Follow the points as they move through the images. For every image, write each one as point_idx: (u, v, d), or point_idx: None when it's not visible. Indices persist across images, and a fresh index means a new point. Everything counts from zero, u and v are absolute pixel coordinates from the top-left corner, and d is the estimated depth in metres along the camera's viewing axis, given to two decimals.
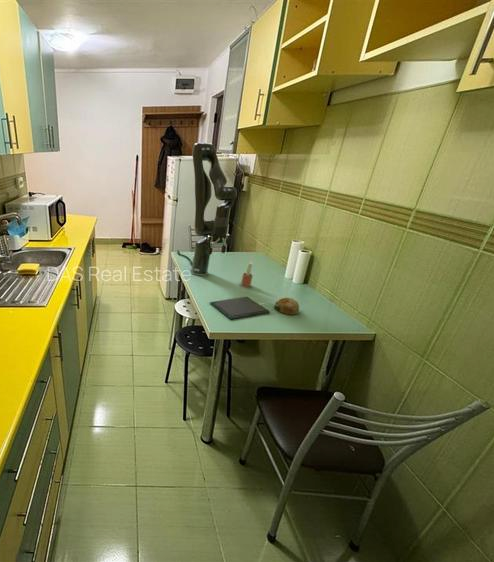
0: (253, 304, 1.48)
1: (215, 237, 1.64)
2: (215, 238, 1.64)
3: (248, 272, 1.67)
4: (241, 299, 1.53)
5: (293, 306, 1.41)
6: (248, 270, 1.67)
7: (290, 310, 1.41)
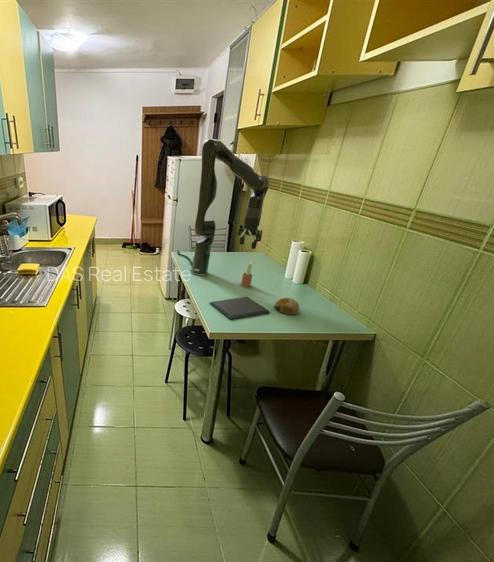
0: (253, 304, 1.48)
1: (244, 227, 1.61)
2: (244, 228, 1.61)
3: (248, 272, 1.67)
4: (241, 299, 1.53)
5: (293, 306, 1.41)
6: (248, 270, 1.67)
7: (290, 310, 1.41)
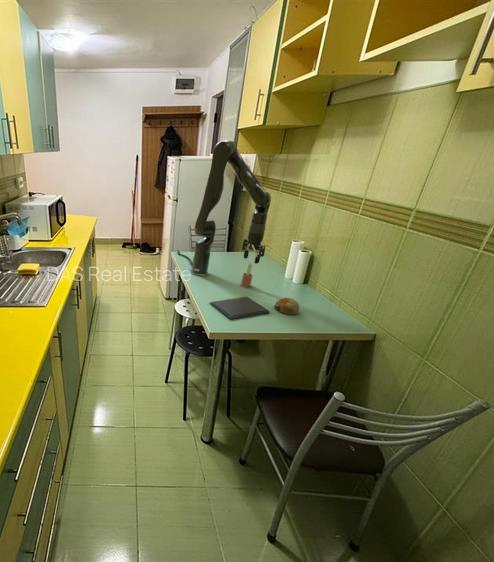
0: (253, 304, 1.48)
1: (248, 242, 1.64)
2: (248, 243, 1.64)
3: (248, 272, 1.67)
4: (241, 299, 1.53)
5: (293, 306, 1.41)
6: (248, 270, 1.67)
7: (290, 310, 1.41)
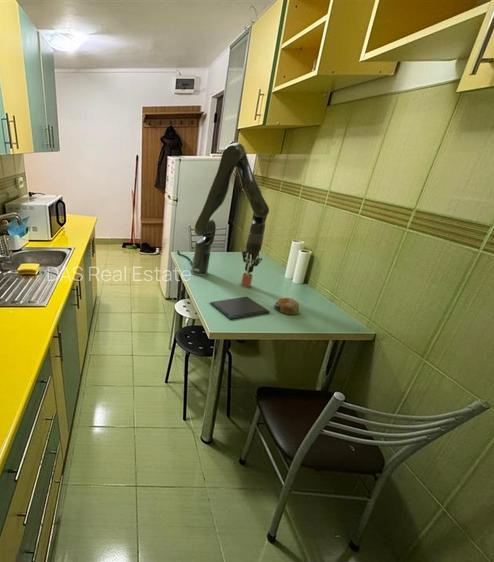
0: (253, 304, 1.48)
1: (246, 251, 1.66)
2: (246, 252, 1.66)
3: (248, 272, 1.67)
4: (241, 299, 1.53)
5: (293, 306, 1.41)
6: None
7: (290, 310, 1.41)
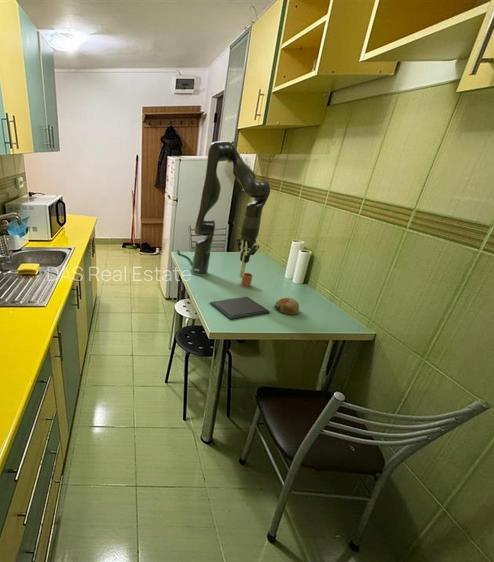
0: (253, 304, 1.48)
1: (241, 238, 1.45)
2: (241, 239, 1.45)
3: None
4: (241, 299, 1.53)
5: (293, 306, 1.41)
6: None
7: (290, 310, 1.41)
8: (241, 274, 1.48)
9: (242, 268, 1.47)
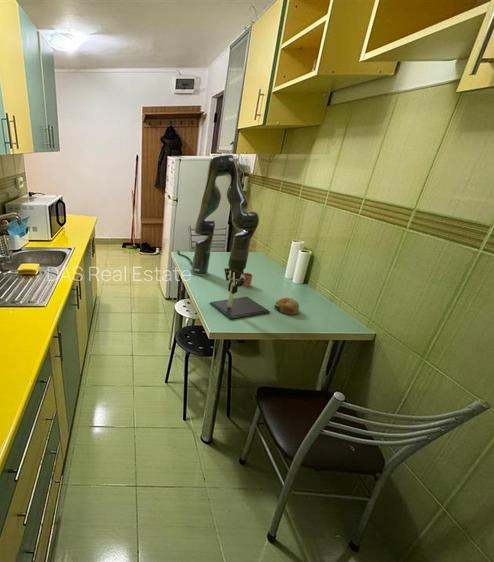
0: (253, 304, 1.48)
1: (229, 268, 1.39)
2: (229, 269, 1.40)
3: (231, 293, 1.41)
4: (241, 299, 1.53)
5: (293, 306, 1.41)
6: (231, 291, 1.40)
7: (290, 310, 1.41)
8: (229, 305, 1.43)
9: (230, 299, 1.42)
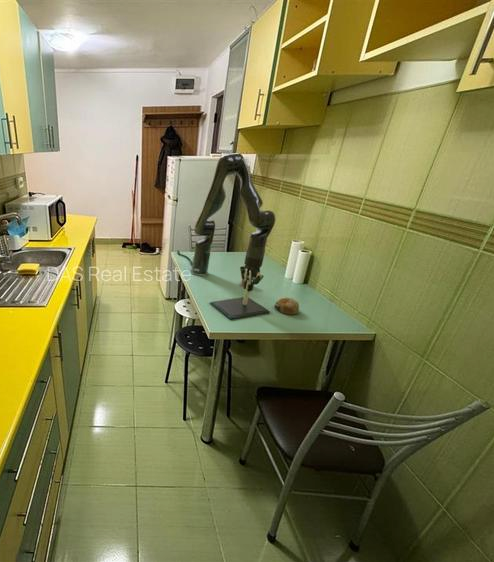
0: (253, 304, 1.48)
1: (245, 266, 1.42)
2: (245, 267, 1.42)
3: (247, 291, 1.43)
4: (241, 299, 1.53)
5: (293, 306, 1.41)
6: (247, 288, 1.43)
7: (290, 310, 1.41)
8: (244, 302, 1.46)
9: (245, 296, 1.45)
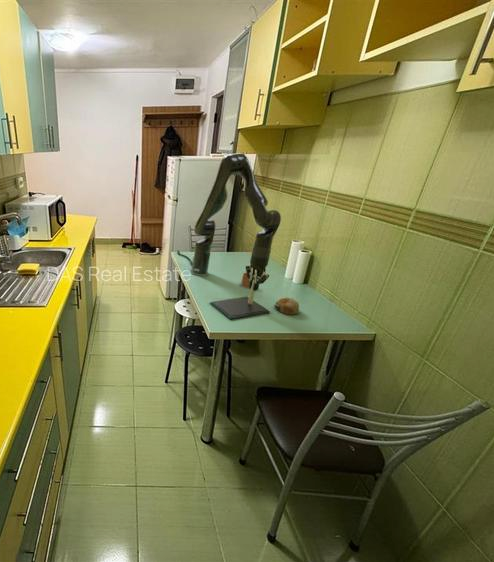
0: (253, 304, 1.48)
1: (251, 266, 1.43)
2: (251, 267, 1.43)
3: (253, 290, 1.44)
4: (241, 299, 1.53)
5: (293, 306, 1.41)
6: None
7: (290, 310, 1.41)
8: (250, 301, 1.47)
9: (251, 295, 1.45)
